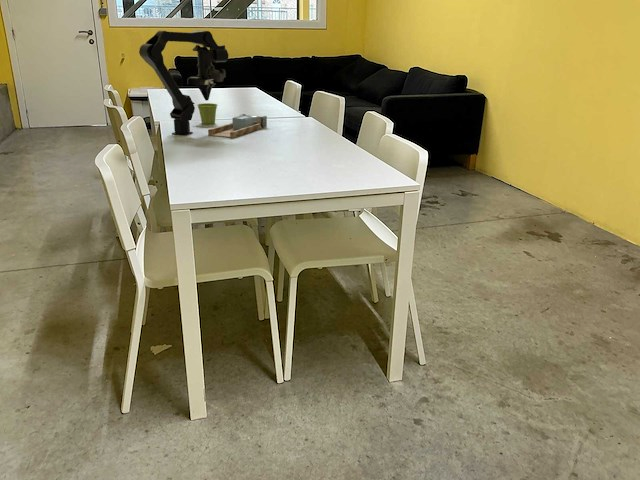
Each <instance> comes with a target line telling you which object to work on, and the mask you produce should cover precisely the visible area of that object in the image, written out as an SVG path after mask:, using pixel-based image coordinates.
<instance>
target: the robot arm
mask: <svg viewBox="0 0 640 480" xmlns="http://www.w3.org/2000/svg"><path fill="white" fill-rule="evenodd" d="M168 42H175V43H176V42H179V43H180V42H181V43H182V42H183V43H190V44H195V46H194V48H192V51H193V52H197V64H196V65H195V68H197V70H198V74H196V76H190V77H188V78H187V85H193V86H196V87H197V88H198V89H199V91H200V92H201V93H200V94H201V95H202V97H203V98H204V101H206V102H207V101H209V100H210V96H211V92H212V88H213V87H215V85H217V83H222V82H223V83H224V78H226V77H227V75H226V70H225V69H224V68H220V69H215V68H216V67H215V64H213V63H226V62H227V61H228V59H229V53H228V50H227V48H226V45H225V44H222V45H221V44H220V45H218V43H217V42H216V41H215V39H214V37H213V34H212V32H211V31H209V30H194V31H191V32H182V31H167V30H158V31H156V33H155V34H154V35H153V36H152V37H151V38H149V39H148V40H147V41H146V42H145V43H143V44H141V45H140V46H139V49H138V50H139V51H138V54H139V55H140V57H141V59H143V60H144V62H146V64H147V65H149V67H151V68H152V69H153V70H154V72H155V74H156V76H157V77H158V78H159V80H160V81H161V83H162V85H163V86H164V88H165V90H166V91H167V93H168V94H169V96H170V97H171V101H172V105H173V109H172V110H171V112H170V113H169V117H170V119H173V126H174V127H173V129H174V132H171V135H176V136H177V135H178V136H187V135H191V134H193V133H194V132H193V131H191V127H190V125H191V124H190V123H191V122H190V121H191V120H192V119H193V116H194V115H193V114H194V113H195V110H196V107H195V103H194V101H193V100H192V98H191V96H190V95H188V94H183V93H182V91H181V89H180V87H179V86H178V84H177V83H176V81H175V79H174V77H173V76H172V74H171V73H170V71H169V70H168V68H167V67H166V65H165V62H164V55H163V53H162V52H163V51H164V50H165V48H166V46H167V43H168ZM214 82H217V83H214Z"/></svg>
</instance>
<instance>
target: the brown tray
mask: <svg viewBox="0 0 640 480" xmlns="http://www.w3.org/2000/svg"><path fill="white" fill-rule="evenodd" d="M261 129H262V128H261V124H258V122H256V121H254V125H252V126H248V127H245V128H242V129H234V128H233V122H230V123H227V124H223V125H220V126H216V127H212V128H209V129H207V134H208V136H211V137H218V138H228V139H234V138H238V137H241V136H243V135H247V134H249V133H253V132H257V131H259V130H261Z"/></svg>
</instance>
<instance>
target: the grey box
mask: <svg viewBox="0 0 640 480" xmlns="http://www.w3.org/2000/svg"><path fill="white" fill-rule="evenodd" d="M249 116H250V117H247V116H243V115H241V114H239V115H237V116H234V117H232V119H231V120H232V123H233V128H234V129H242V128H245V127H248V126H252V125H254V117H253V116H254V115H249Z"/></svg>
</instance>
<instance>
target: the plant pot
mask: <svg viewBox="0 0 640 480" xmlns="http://www.w3.org/2000/svg"><path fill="white" fill-rule="evenodd" d="M196 106H197V108H198V111H199V116H200V121H201V124H203V125H210V124H211V125H214V124H215V123H216V114H217V109H218V104H217V103H212V102H211V103H207V102H203V103H198V104H196Z"/></svg>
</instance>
